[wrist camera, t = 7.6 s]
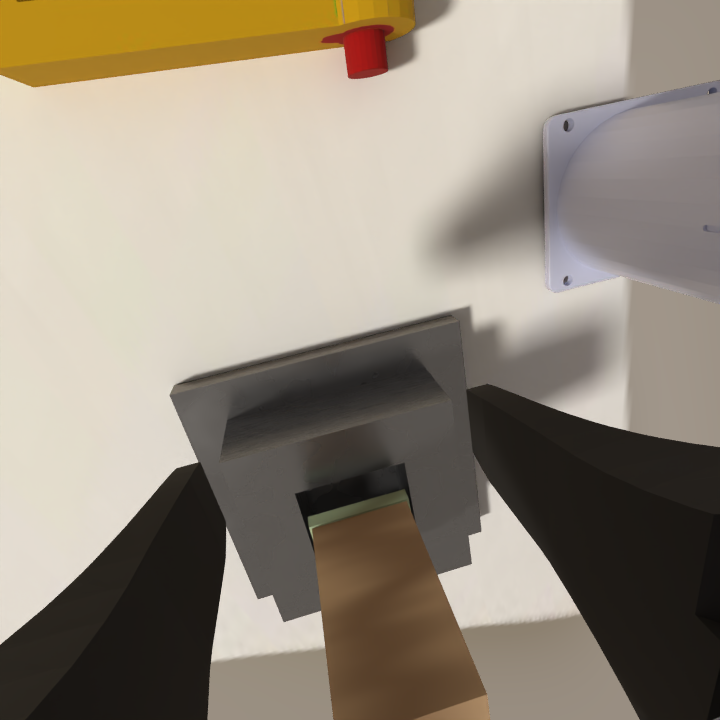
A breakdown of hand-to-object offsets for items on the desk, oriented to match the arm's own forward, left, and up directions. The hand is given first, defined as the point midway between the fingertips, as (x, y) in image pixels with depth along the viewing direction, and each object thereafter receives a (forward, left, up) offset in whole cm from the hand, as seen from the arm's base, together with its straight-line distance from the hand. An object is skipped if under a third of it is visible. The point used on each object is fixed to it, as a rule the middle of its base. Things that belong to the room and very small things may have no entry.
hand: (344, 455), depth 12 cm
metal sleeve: (0, +8, -10) cm, 13 cm away
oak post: (0, +8, -5) cm, 9 cm away
